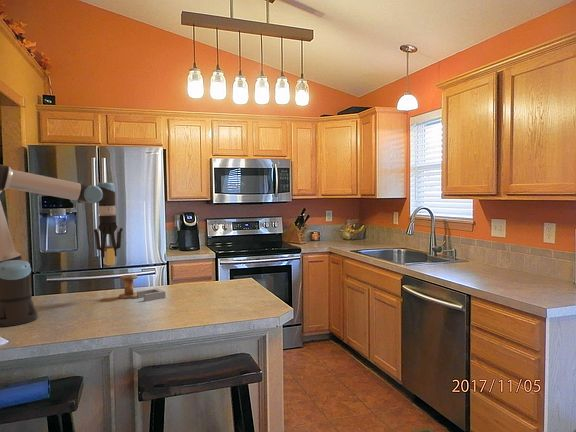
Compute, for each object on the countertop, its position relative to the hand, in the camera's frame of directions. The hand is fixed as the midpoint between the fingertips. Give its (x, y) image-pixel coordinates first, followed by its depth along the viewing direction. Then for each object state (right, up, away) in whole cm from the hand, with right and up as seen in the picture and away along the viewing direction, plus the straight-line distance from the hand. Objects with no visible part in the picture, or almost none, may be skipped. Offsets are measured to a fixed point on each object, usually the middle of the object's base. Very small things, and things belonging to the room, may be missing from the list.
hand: (109, 263), depth 200 cm
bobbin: (+8, -16, +3) cm, 19 cm away
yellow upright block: (0, 0, 0) cm, 0 cm away
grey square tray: (+20, -16, 0) cm, 26 cm away
